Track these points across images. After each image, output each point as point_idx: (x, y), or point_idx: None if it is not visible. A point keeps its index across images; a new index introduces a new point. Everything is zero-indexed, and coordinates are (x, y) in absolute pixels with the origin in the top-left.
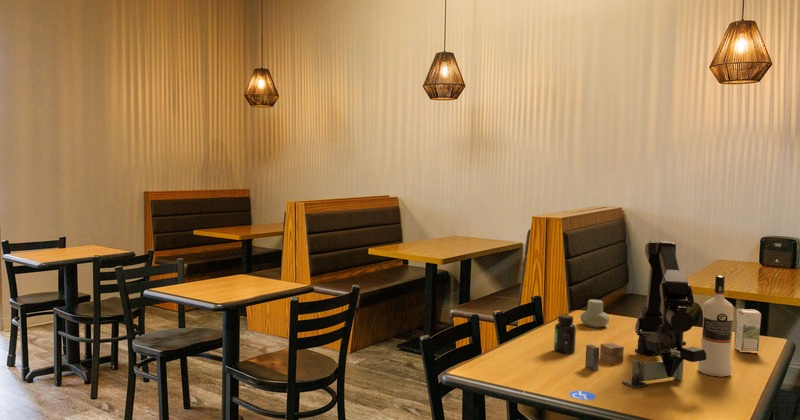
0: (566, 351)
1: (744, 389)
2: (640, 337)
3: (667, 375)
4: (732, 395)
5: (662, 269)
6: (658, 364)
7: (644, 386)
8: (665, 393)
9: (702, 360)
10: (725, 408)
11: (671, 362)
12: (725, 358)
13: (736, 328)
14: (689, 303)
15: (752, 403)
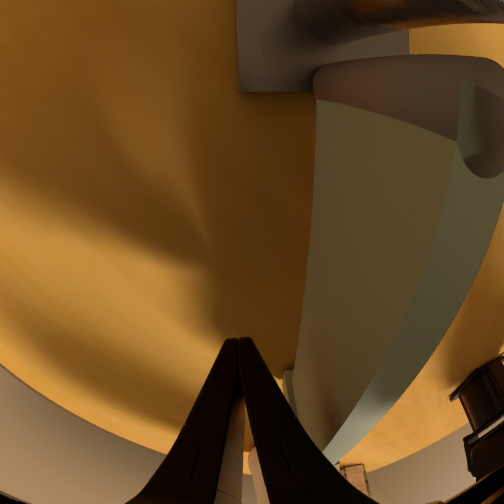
0: None
1: (148, 435)
2: None
3: (250, 339)
4: (87, 397)
5: None
6: (349, 382)
7: (237, 43)
8: (68, 144)
9: (10, 495)
10: None
11: (174, 475)
12: (257, 496)
13: (367, 493)
14: None
15: (34, 385)
